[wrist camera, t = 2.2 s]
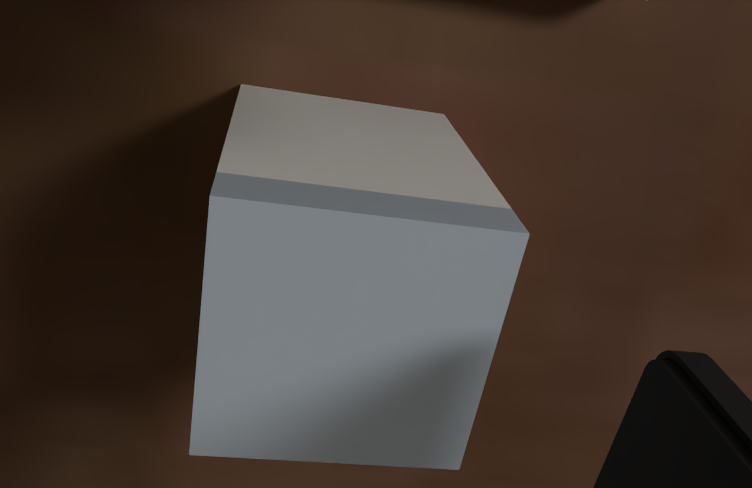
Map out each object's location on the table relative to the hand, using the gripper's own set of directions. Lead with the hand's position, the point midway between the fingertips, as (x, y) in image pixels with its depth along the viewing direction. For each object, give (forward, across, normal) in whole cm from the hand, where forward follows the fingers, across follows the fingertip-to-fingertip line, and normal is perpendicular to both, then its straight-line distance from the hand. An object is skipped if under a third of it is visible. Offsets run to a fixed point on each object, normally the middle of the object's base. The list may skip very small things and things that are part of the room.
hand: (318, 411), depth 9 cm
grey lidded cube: (+9, -1, +1) cm, 9 cm away
